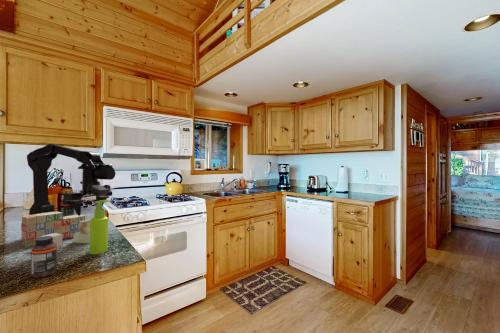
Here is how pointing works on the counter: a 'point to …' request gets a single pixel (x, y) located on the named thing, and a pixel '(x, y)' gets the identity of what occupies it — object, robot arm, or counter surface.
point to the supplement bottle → (43, 257)
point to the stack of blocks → (48, 226)
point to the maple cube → (85, 226)
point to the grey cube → (56, 238)
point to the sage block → (81, 238)
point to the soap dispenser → (99, 230)
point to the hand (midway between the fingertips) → (89, 213)
